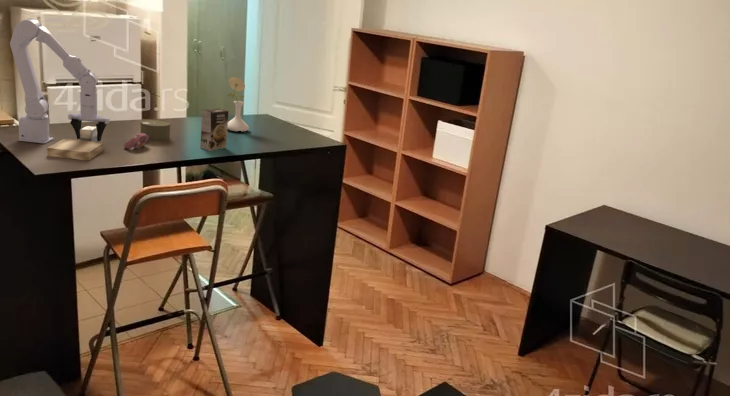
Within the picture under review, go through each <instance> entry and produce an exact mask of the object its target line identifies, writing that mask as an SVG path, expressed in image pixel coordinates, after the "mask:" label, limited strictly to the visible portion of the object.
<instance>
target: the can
mask: <svg viewBox="0 0 730 396" xmlns="http://www.w3.org/2000/svg"><path fill="white" fill-rule="evenodd" d="M139 123H140V133H144V134H147V135H148V136H149V139H148V141H147V142H152V143H153V142H156V143H161V142H168V141H170V138H171V137H170V136H171V122H169V121H167V120H163V119H162V120H161V119H154V118H153V119H152V118H151V119H148V118H147V119H146V118H145V119H141V120H140V122H139Z"/></svg>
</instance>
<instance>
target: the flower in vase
mask: <svg viewBox="0 0 730 396" xmlns="http://www.w3.org/2000/svg"><path fill="white" fill-rule="evenodd" d="M228 79H229V80H228V84H229V86H230V88H231V89H233V90H234V91H233V92H230V93H228V94H227V95H226V96H227V97H229V98H232V99H234V98H235V100H234V101H233V105H234V106H235V116H233V118H232V119H230V120H228V126H227V130H228V131H232V132H238V131H241V132H247V131H249V129H250V127H249V125H248V124H247V122H245V121H244V120H243V119H242V117H241V113H242V112H241V110H242V108H243V105H244V104H245V102H244V101H241V100H240V99H242V98H244V97H245V96H244V95H243V96H239V97H238V98H237V96H236V91H237V92H242V91H245V90H244V89H245V87H246V84H245V82H244V81H243V80H242V79H240V77H238V78H237V76H235V77H234V76H233V77H230V78H228Z"/></svg>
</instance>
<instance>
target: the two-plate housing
mask: <svg viewBox="0 0 730 396" xmlns="http://www.w3.org/2000/svg"><path fill="white" fill-rule="evenodd" d="M79 140H81V141H90V142H98V143H99V141H97V128H96V126H91V125H86V126H84V127H83V128H82V127H81V129H80V139H79Z"/></svg>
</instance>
